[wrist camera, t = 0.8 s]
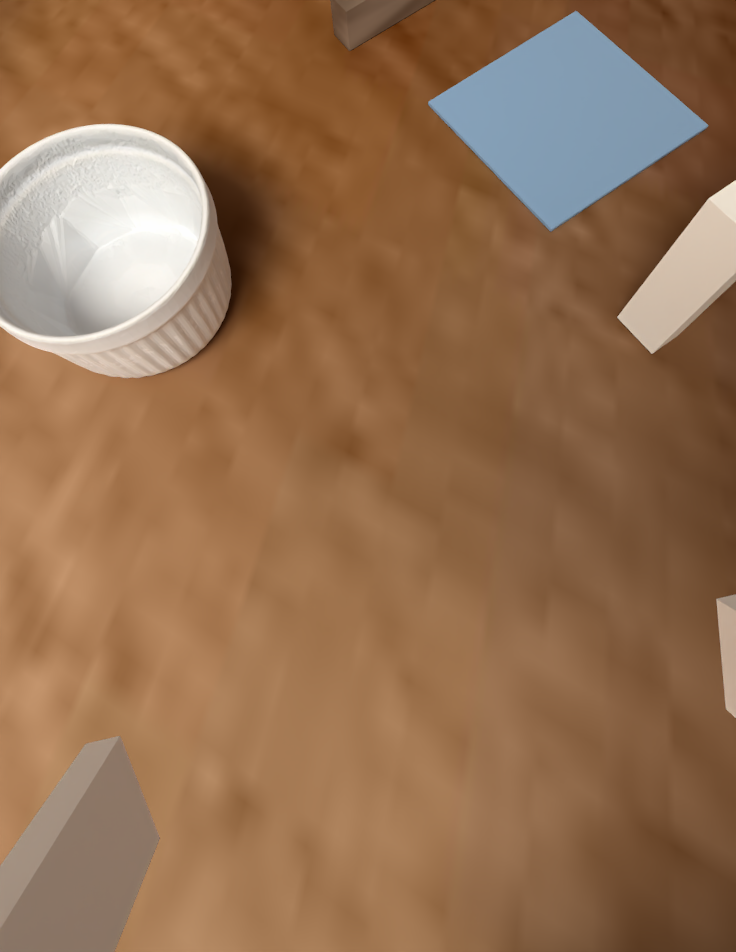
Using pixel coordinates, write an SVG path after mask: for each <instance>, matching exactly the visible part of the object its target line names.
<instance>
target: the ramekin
mask: <svg viewBox="0 0 736 952" xmlns="http://www.w3.org/2000/svg"><path fill="white" fill-rule="evenodd" d="M231 285H232V283H231V270H230V265H229V262H228V257H227V253H226V250H225V246H224V243H223V239H222V236H221V233H220V230H219V227H218V224H217V214H216V209H215V205H214V201H213V198H212V195H211V193H210V190H209V188H208V186H207V185H206V183H205V181H204V179H203V177H202V175H201V173H200V171H199V170H198V168H197V167H196V165H195V164H194V162H193V161H192V160H191V159H190V157H189V156H188V155H187V154H186V153H185V152H184V151H183V150H182V149H180V148H179V147H178V146H177V145H175V144H174V143H173V142H171V141H170V140H168V139H166V138H165V137H163V136H161V135H158V134H156V133H154V132H152V131H148V130H145V129H142V128H138V127H134V126H128V125H120V124H98V125H88V126H82V127H77V128H73V129H69V130H65V131H62V132H59V133H56V134H54V135H51V136H49V137H47V138H45V139H42V140H40V141H38V142H37V143H35V144H33V145H31V146H29V147H28V148H26V149H25V150H23V151H22V152H20V153H19V154H17V155H16V156H15V157H14V158H12V159H11V160H10V161H9V162H8V163H6V164H5V165H4V166H3V167H2V168H1V169H0V326H1V327H2V328H3V329H5V330H6V331H7V332H8V333H10V334H11V335H13V336H14V337H16V338H17V339H19V340H20V341H22V342H24V343H26V344H28V345H31V346H33V347H35V348H38V349H41V350H44V351H48V352H53V353H55V354H57V355H59V356H61V357H63V358H65V359H67V360H69V361H71V362H73V363H75V364H77V365H79V366H81V367H84V368H86V369H88V370H91V371H93V372H95V373H99V374H105V375H108V376H111V377H122V378H131V377H134V378H140V377H144V376H152V375H156V374H158V373H163V372H166V371H168V370H170V369H172V368H175V367H177V366H179V365H180V364H182V363H184V362H186V361H188V360H189V359H190V358H192V357H193V356H195V355H196V354H197V353H198V352H199V351H200V350H201V349H202V348H204V347H205V346H206V345H207V344H208V342H209V341H210V340H211V339H212V338H213V336H214V335H215V333H216V332H217V331H218V329H219V327H220V325H221V323H222V322H223V320H224V318H225V314H226V311H227V309H228V305H229V300H230V297H231Z"/></svg>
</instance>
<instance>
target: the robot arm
mask: <svg viewBox="0 0 736 952" xmlns="http://www.w3.org/2000/svg"><path fill="white" fill-rule="evenodd" d="M716 600H717V612H718V624H719V635H720V647H721V658H722V670H723V681H724V693H725V705H726V710H727V711H728V712H730V713H731V714H732V715H733V716H734V717H735V718H736V594H735V595H731V596H727V597H722V598H718V599H716ZM159 839H160V837H159V835H158V832H157V829H156V827H155V824H154V822H153V819H152V817H151V814H150V811H149V809H148V806H147V804H146V801H145V799H144V796H143V793H142V791H141V788H140V786H139V783H138V781H137V778H136V775H135V773H134V770H133V768H132V765H131V763H130V760H129V757H128V755H127V752H126V750H125V747H124V745H123V742H122V739H121V737H120V736H117V737H113V738H109V739H104V740H100V741H96V742H91V743H87V744H85V746H84V747H83V748H82V750H81V751H80V753H79V754H78V756H77V757H76V758H75V760H74V761H73V763H72V764H71V766H70V767H69V768H68V770H67V771H66V773H65V774H64V776H63V777H62V778H61V780H60V781H59V783H58V784H57V786H56V787H55V788H54V790H53V791H52V793H51V794H50V796H49V797H48V798H47V800H46V801H45V803H44V804H43V806H42V807H41V808H40V810H39V811H38V813H37V814H36V816H35V817H34V818H33V820H32V821H31V823H30V824H29V826H28V827H27V828H26V830H25V831H24V833H23V834H22V836H21V837H20V838H19V840H18V841H17V843H16V844H15V846H14V847H13V848H12V850H11V851H10V853H9V854H8V856H7V857H6V858H5V860H4V861H3V863H2V864H1V866H0V952H114V951H115V949H116V946H117V944H118V942H119V939H120V937H121V934H122V932H123V929H124V927H125V924H126V922H127V919H128V917H129V914H130V912H131V909H132V907H133V904H134V902H135V899H136V897H137V894H138V892H139V889H140V887H141V884H142V882H143V879H144V877H145V874H146V872H147V869H148V867H149V864H150V862H151V859H152V857H153V854H154V852H155V849H156V847H157V844H158V842H159Z"/></svg>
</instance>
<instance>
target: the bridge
mask: <svg viewBox="0 0 736 952" xmlns="http://www.w3.org/2000/svg"><path fill="white" fill-rule="evenodd" d="M735 281H736V180H735V181H734V182H732V183H731V184H729V185H728V186H726V187H725V188H723V189H722V190H720V191H719V192H718V193H716V194H715V195H713V196H712V197H710V198H709V199H708V200H707V201H706V203H705V204H704V205H703V206H702V208H701V209H700V210H699V212H698V213H697V214H696V216H695V217H694V218H693V219H692V221H691V222H690V223H689V225H688V226H687V227H686V228H685V230H684V231H683V232H682V234H681V235H680V236H679V238H678V239H677V240H676V241H675V243H674V244H673V245H672V247H671V248H670V249H669V251H668V252H667V253H666V254H665V256H664V257H663V258H662V260H661V261H660V262H659V263H658V265H657V266H656V267H655V269H654V270H653V271H652V273H651V274H650V275H649V276H648V278H647V279H646V280H645V282H644V283H643V284H642V286H641V287H640V288H639V289H638V291H637V292H636V293H635V295H634V296H633V297H632V299H631V300H630V301H629V302H628V304H627V305H626V306H625V308H624V309H623V310H622V311H621V313H620V314H619V315H618V317H617V318H618V319H619V320H620V321H621V322H622V323H623V324H624V325H625V326H626V327H627V328H628V329H629V331H630V332H631V333H632V334H633V335H634V336H635V337H636V338H637V339H638V340H639V341H640V342H641V343H642V344H643V345H644V346H645V347H646V348H647V349H648V350H649V351H650V353H651V354H653V353H654V352H655V351H657V350H658V349H660V348H661V347H663V346H664V345H665V344H667V343H668V342H670V341H671V340H672V339H674V338H675V337H677V336H678V335H679V334H680V333H681V332H682V331H683V330H684V329H686V328H687V327H688V326H689V325H690V324H691V323H692V322H693V321H694V320H695V319H696V318H697V317H698V316H699V315H700V314H701V313H702V312H703V311H705V310H706V309H707V308H708V307H709V306H710V305H711V304H712V303H713V302H714V301H715V300H716V299H717V298H718V297H719V296H720V295H721V294H722V293H724V292H725V291H726V290H727V289H728V288H729V287H730V286H731V285H732V284H733V283H734V282H735Z"/></svg>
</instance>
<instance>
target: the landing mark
mask: <svg viewBox="0 0 736 952" xmlns="http://www.w3.org/2000/svg"><path fill="white" fill-rule="evenodd" d="M428 105H429V106H430V107H431V108H432V109H433V110H434V111H435V112H436V113H437V114H438V115H439V116H440V117H441V119H442V120H443V121H444V122H445V123H446V124H447V125H448V126H449V127H450V128H451V129H452V130H453V131H454V132H455V133H456V134H457V135H458V136H459V137H460V138H461V139H462V140H463V141H464V142H465V143H466V144H467V146H468V147H469V148H470V149H471V150H472V151H473V152H474V153H475V154H476V155H477V156H478V157H479V158H480V159H481V160H482V161H483V162H484V163H485V164H486V165H487V166H488V167H489V168H490V169H491V170H492V171H493V172H494V174H495V175H496V176H497V177H498V178H499V179H500V180H501V181H502V182H503V183H504V184H505V185H506V186H507V187H508V188H509V189H510V190H511V191H512V192H513V193H514V194H515V195H516V196H517V197H518V198H519V199H520V201H521V202H522V203H523V204H524V205H525V206H526V207H527V208H528V209H529V210H530V211H531V212H532V213H533V214H534V215H535V216H536V217H537V218H538V219H539V220H540V221H541V222H542V223H543V224H544V225H545V226H546V227H547V229H548V230H549V231H550V232H551V231H553V230H554V229H556V228H557V227H559V226H560V225H562V224H563V223H565V222H566V221H568V220H569V219H571V218H572V217H574V216H575V215H577V214H578V213H580V212H581V211H583V210H584V209H586V208H587V207H589V206H590V205H592V204H593V203H595V202H596V201H598V200H599V199H601V198H602V197H604V196H605V195H607V194H608V193H610V192H611V191H613V190H614V189H616V188H617V187H619V186H620V185H622V184H623V183H625V182H627V181H628V180H630V179H631V178H633V177H634V176H636V175H637V174H639V173H640V172H642V171H643V170H645V169H646V168H648V167H649V166H651V165H652V164H654V163H655V162H657V161H658V160H660V159H661V158H663V157H664V156H666V155H667V154H669V153H670V152H672V151H673V150H675V149H676V148H678V147H679V146H681V145H682V144H684V143H685V142H687V141H688V140H690V139H691V138H693V137H694V136H696V135H697V134H699V133H700V132H702V131H703V130H705V129H706V128H707V127H708V125H707V124H706V123H705V122H704V121H703V120H702V119H700V118H699V117H698V116H697V115H696V114H695V113H693V112H692V111H691V110H690V109H689V108H688V107H687V106H685V105H684V104H683V103H682V102H681V101H680V100H678V99H677V98H676V97H675V96H674V95H673V94H672V93H670V92H669V91H668V90H667V89H666V88H665V87H663V86H662V85H661V84H660V83H659V82H658V81H657V80H655V79H654V78H653V77H652V76H651V75H650V74H648V73H647V72H646V71H645V70H644V69H643V68H642V67H640V66H639V65H638V64H637V63H636V62H635V61H633V60H632V59H631V58H630V57H629V56H628V55H627V54H625V53H624V52H623V51H622V50H621V49H620V48H618V47H617V46H616V45H615V44H614V43H613V42H612V41H610V40H609V39H608V38H607V37H606V36H605V35H603V34H602V33H601V32H600V31H599V30H598V29H597V28H595V27H594V26H593V25H592V24H591V23H590V22H589V21H587V20H586V19H585V18H584V17H583V16H582V15H580V14H579V13H578V12H577V11H575V12H573V13H572V14H570V15H568V16H567V17H565V18H564V19H562V20H560V21H559V22H557V23H555V24H554V25H552V26H551V27H549V28H547V29H546V30H544V31H542V32H541V33H539V34H538V35H536V36H534V37H533V38H531V39H530V40H528V41H526V42H525V43H523V44H521V45H520V46H518V47H517V48H515V49H513V50H512V51H510V52H508V53H507V54H505V55H504V56H502V57H500V58H499V59H497V60H496V61H494V62H492V63H491V64H489V65H487V66H486V67H484V68H483V69H481V70H479V71H478V72H476V73H474V74H473V75H471V76H470V77H468V78H466V79H465V80H463V81H461V82H460V83H458V84H457V85H455V86H453V87H452V88H450V89H449V90H447V91H445V92H444V93H442V94H440V95H439V96H437V97H436V98H434V99H432V100H431V101H429V102H428Z"/></svg>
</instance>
